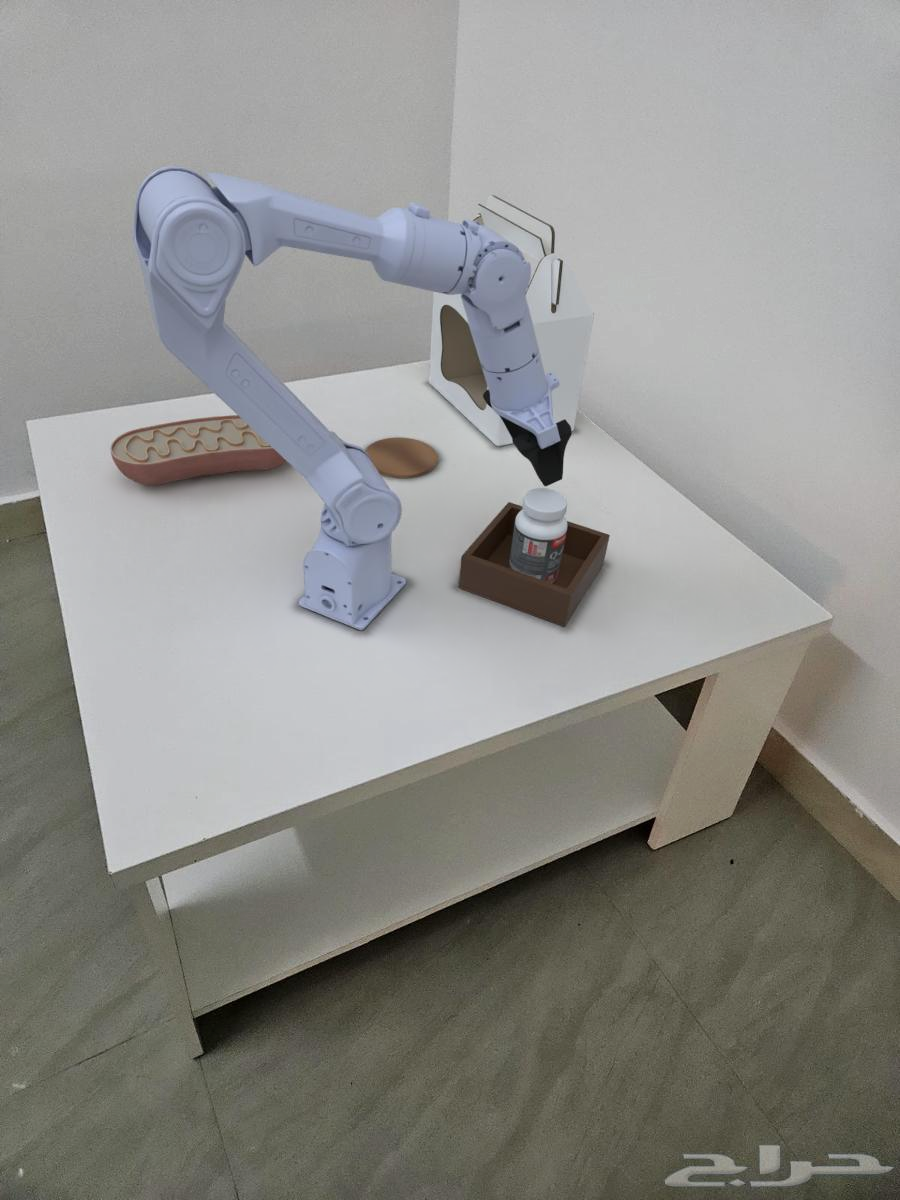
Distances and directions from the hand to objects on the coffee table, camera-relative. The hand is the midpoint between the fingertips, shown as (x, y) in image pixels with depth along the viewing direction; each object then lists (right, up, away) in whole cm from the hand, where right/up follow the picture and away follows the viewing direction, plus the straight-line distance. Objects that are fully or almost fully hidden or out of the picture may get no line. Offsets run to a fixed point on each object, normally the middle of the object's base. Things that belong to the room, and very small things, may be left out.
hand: (538, 461), depth 88 cm
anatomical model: (-40, +2, +18) cm, 44 cm away
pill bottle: (0, -12, +5) cm, 13 cm away
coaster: (-16, +4, +23) cm, 28 cm away
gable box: (-2, +14, +37) cm, 39 cm away
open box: (0, -12, +5) cm, 13 cm away
